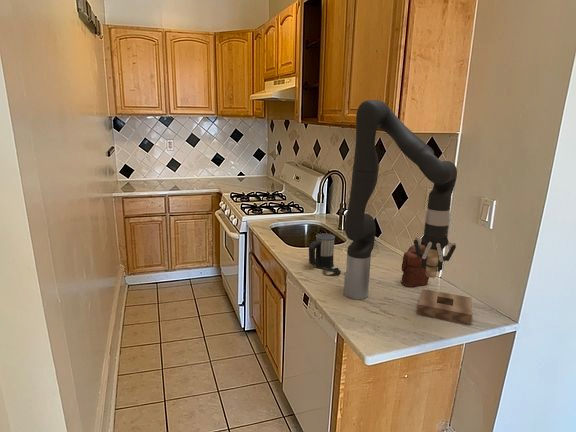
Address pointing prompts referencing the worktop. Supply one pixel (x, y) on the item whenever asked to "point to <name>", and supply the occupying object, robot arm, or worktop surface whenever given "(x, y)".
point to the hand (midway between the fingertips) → (431, 269)
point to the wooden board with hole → (445, 306)
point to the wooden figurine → (413, 268)
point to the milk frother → (323, 252)
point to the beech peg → (432, 263)
